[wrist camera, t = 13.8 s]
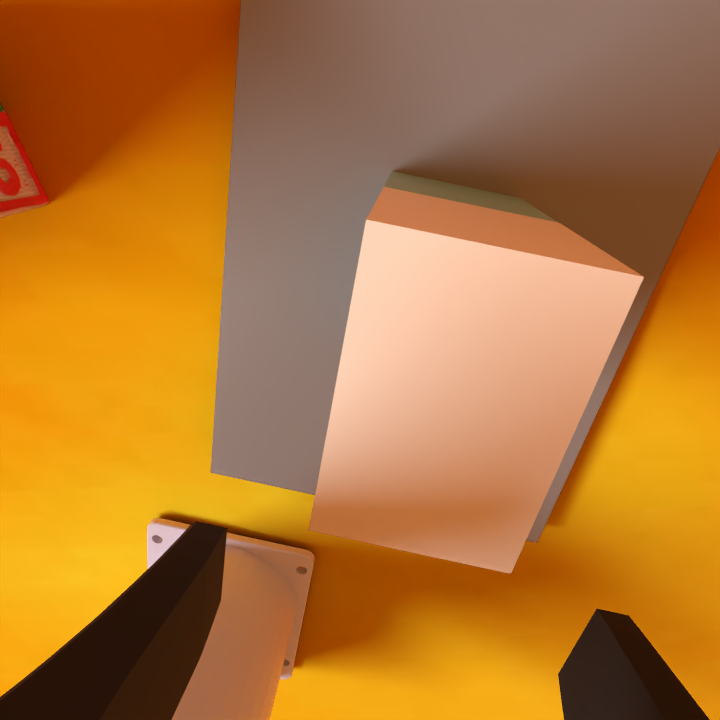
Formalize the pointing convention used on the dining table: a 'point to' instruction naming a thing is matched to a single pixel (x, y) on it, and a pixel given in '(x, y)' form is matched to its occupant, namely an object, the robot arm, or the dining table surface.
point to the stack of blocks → (16, 174)
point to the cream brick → (462, 376)
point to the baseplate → (438, 172)
